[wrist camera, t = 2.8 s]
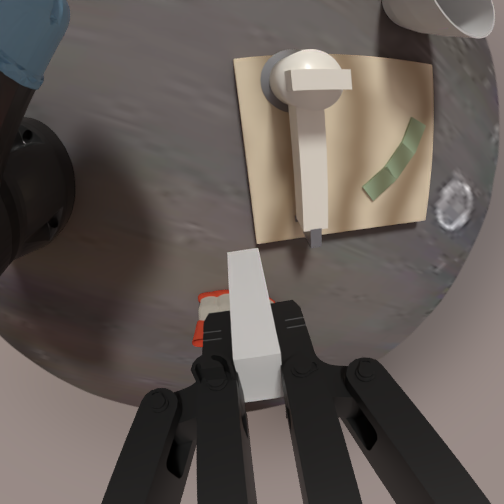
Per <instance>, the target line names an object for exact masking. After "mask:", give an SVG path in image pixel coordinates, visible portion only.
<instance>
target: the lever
mask: <svg viewBox="0 0 504 504" xmlns="http://www.w3.org/2000/svg"><path fill="white" fill-rule="evenodd" d="M269 83H270V87H271V90H272V92H273V93H274V95H275V96H276V97H277V98H278V99H279V100H280V101H282V102H283V103H285V104H288V109H289V120H290V131H291V143H292V156H293V169H294V184H295V200H296V217H297V220H298V222H299V224H300V226H301V227H302V229H303V233H304V235H305V237H306V239H307V241H308V243H309V245H310V247H311V248H314V247H321V246H322V229H327V228H328V176H327V148H326V128H325V112H324V109H326V108H329V107H330V106H332V105H333V104H335V103H336V102H337V101H338V99H339V98H340V96H341V94H342V92H343V89H351V90H352V80H351V69H341V67H340V66H339V64H338V63H337V61H336V60H335V59H334V58H333V57H331V56H330V55H328V54H327V53H325V52H323V51H319V50H315V49H306V50H302V51H299V52H296V53H294V54H292V55H290V56H288V57H285V58H283V59H281V60H280V61H278V62H277V63H276V64H275V65H274V67H273V68H272V70H271V73H270V78H269Z"/></svg>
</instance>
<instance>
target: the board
mask: <svg viewBox="0 0 504 504" xmlns="http://www.w3.org/2000/svg"><path fill="white" fill-rule="evenodd" d="M299 51H302V50H298V49H288V50H283V51H280V52H278V53H276V54H274V55H271V56H258V57H247V58H238V59H233V65H234V73H235V80H236V88H237V95H238V103H239V111H240V118H241V126H242V134H243V142H244V149H245V157H246V165H247V173H248V181H249V189H250V197H251V205H252V213H253V221H254V229H255V237H256V241H257V244H261V243H268V242H274V241H281V240H288V239H295V238H302V237H305V235H304V233H303V229H302V227H301V226H300V224H299V222H298V220H297V217H296V200H295V184H294V169H293V156H292V143H291V131H290V120H289V109H288V104H285V103H283V102H282V101H280V100H279V99H278V98H277V97H276V96H275V95H274V93H273V92H272V90H271V87H270V83H269V78H270V73H271V70H272V68H273V67H274V65H275V64H276V63H277V62H278V61H280V60H281V59H283V58H285V57H288V56H290V55H292V54H294V53H296V52H299ZM328 55H330V56H331V57H333V58H334V59H335V60H336V61H337V63H338V64H339V66H340V67H341V69H351V80H352V90H351V89H343V92H342V94H341V96H340V98H339V99H338V101H337V102H336V103H335V104H333V105H332V106H330V107H329V108H326V109H324V112H325V128H326V148H327V176H328V228H327V229H322V235H323V234H330V233H337V232H344V231H351V230H358V229H366V228H373V227H380V226H387V225H394V224H402V223H409V222H416V221H424V220H425V218H426V211H427V204H428V196H429V187H430V177H431V165H432V150H433V124H434V97H433V72H432V65H430V64H425V63H419V62H413V61H406V60H399V59H391V58H382V57H371V56H358V55H339V54H328Z"/></svg>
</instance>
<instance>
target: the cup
mask: <svg viewBox="0 0 504 504" xmlns="http://www.w3.org/2000/svg"><path fill="white" fill-rule="evenodd" d="M382 5H383V8H384V11H385V13H386V14H387V16H388V17H389V18H390V19H391V20H392V21H393V22H394V23H395V24H397V25H398V26H400V27H403V28H406V29H410V30H413V31H416V32H419V33H426V34H433V35H440V36H448V37H468V38H484V37H486V36H487V35H489V34H490V33H491V31H492V29H493V27H494V23H495V11H494V6H493V2H492V0H382Z"/></svg>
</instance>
